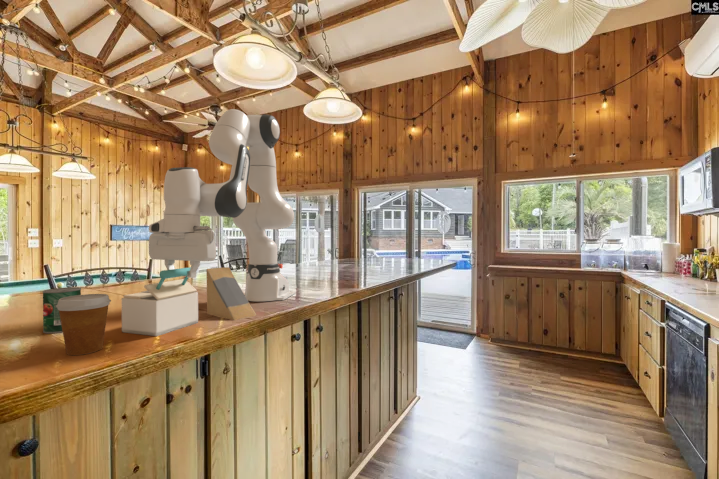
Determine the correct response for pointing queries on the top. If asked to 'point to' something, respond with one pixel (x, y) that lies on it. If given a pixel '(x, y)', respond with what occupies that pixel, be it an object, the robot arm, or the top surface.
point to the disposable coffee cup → (83, 322)
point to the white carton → (159, 314)
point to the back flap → (139, 295)
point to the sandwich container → (226, 296)
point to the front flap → (171, 284)
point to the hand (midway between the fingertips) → (182, 277)
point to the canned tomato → (51, 311)
